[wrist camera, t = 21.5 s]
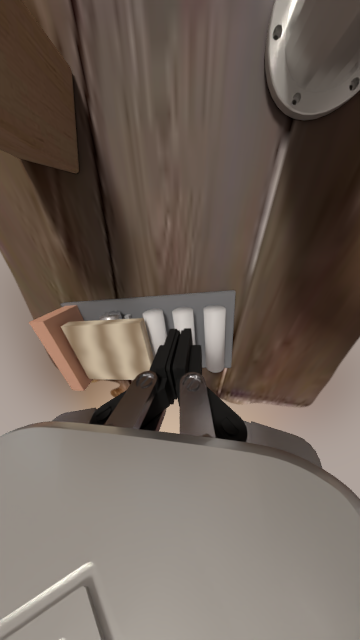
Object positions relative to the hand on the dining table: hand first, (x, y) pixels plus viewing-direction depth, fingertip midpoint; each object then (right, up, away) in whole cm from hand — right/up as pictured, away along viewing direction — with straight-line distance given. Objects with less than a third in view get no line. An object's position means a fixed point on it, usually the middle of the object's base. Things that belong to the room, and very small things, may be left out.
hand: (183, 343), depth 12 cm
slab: (-14, -4, +20) cm, 25 cm away
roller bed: (-8, -2, +23) cm, 25 cm away
